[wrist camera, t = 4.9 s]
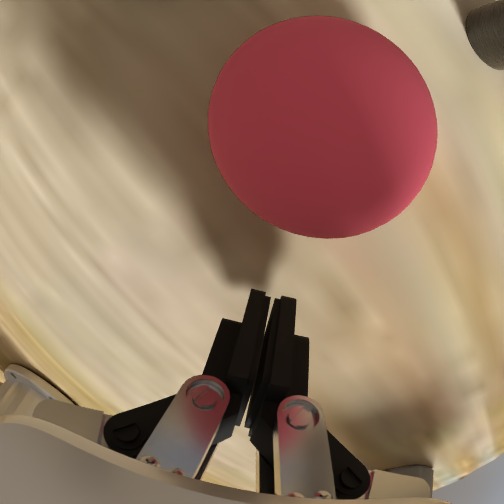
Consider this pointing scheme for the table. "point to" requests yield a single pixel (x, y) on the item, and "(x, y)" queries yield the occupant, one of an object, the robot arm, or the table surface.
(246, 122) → the ball
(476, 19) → the post
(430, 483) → the coffeepot
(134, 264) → the table surface
